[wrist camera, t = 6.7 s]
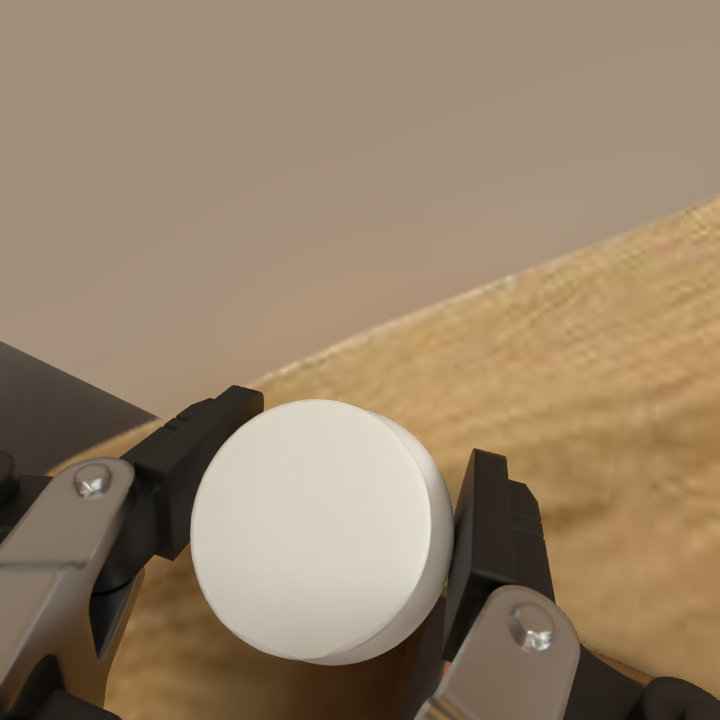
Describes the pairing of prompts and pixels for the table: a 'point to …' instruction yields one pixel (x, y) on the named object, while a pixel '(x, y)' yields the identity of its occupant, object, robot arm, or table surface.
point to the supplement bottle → (322, 533)
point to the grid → (446, 666)
